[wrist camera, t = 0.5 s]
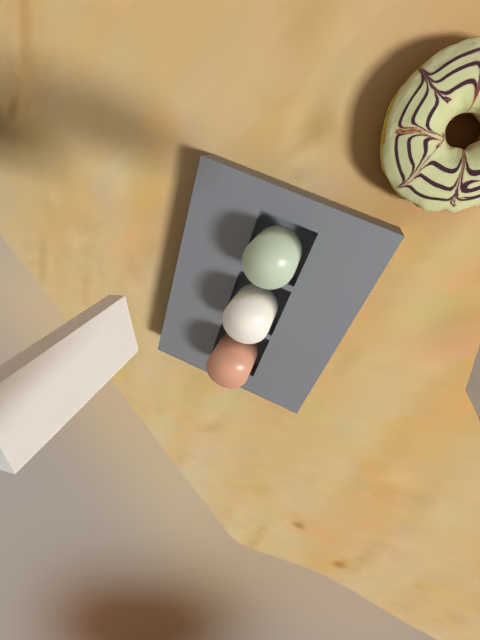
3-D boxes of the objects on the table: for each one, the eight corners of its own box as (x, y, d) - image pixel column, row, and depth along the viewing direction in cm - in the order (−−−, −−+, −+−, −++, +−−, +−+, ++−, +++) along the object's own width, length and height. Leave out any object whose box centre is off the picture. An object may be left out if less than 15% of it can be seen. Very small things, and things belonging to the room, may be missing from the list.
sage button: (247, 262, 31) (235, 276, 28) (263, 217, 29) (251, 227, 25) (290, 280, 31) (283, 297, 27) (310, 236, 28) (304, 249, 25)
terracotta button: (215, 355, 37) (201, 376, 34) (225, 325, 35) (212, 344, 32) (250, 371, 37) (240, 394, 34) (263, 342, 35) (254, 363, 31)
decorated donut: (513, 207, 26) (535, 217, 23) (368, 204, 29) (371, 212, 26) (574, 37, 21) (613, 19, 18) (392, 53, 24) (399, 40, 21)
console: (169, 336, 42) (157, 349, 40) (213, 154, 30) (200, 155, 28) (300, 396, 40) (296, 413, 38) (399, 227, 29) (404, 236, 26)
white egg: (229, 313, 34) (216, 332, 31) (242, 276, 32) (229, 292, 29) (268, 330, 34) (259, 351, 31) (284, 294, 32) (276, 313, 28)
